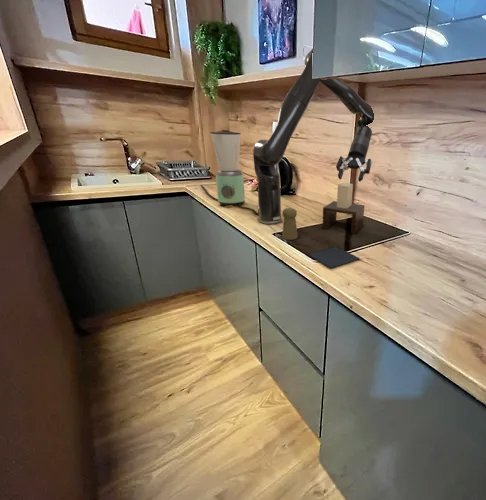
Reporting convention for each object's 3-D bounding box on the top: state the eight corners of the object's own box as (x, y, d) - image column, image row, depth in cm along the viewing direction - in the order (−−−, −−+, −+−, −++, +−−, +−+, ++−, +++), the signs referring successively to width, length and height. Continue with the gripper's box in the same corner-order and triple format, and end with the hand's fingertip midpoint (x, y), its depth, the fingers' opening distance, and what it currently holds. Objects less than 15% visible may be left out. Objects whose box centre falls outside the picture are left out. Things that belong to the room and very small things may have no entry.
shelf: (332, 220, 136) (333, 201, 133) (362, 225, 132) (364, 205, 128) (322, 228, 126) (323, 207, 122) (354, 233, 121) (356, 212, 118)
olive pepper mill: (295, 240, 112) (294, 211, 108) (279, 238, 113) (278, 210, 109) (299, 235, 118) (299, 207, 113) (285, 233, 119) (284, 205, 114)
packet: (336, 207, 123) (337, 185, 120) (341, 204, 128) (342, 182, 125) (347, 208, 122) (348, 186, 118) (351, 205, 127) (353, 183, 124)
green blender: (242, 208, 148) (236, 131, 134) (214, 208, 146) (205, 130, 133) (248, 199, 165) (243, 130, 151) (223, 198, 164) (216, 129, 150)
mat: (308, 255, 100) (308, 254, 100) (336, 247, 107) (336, 246, 107) (330, 269, 92) (330, 267, 92) (359, 259, 99) (359, 258, 99)
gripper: (376, 155, 132) (367, 186, 126) (345, 153, 136) (335, 182, 131) (374, 143, 125) (364, 175, 120) (342, 141, 130) (331, 172, 124)
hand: (349, 179), depth 125 cm, fingers open, 8 cm apart
